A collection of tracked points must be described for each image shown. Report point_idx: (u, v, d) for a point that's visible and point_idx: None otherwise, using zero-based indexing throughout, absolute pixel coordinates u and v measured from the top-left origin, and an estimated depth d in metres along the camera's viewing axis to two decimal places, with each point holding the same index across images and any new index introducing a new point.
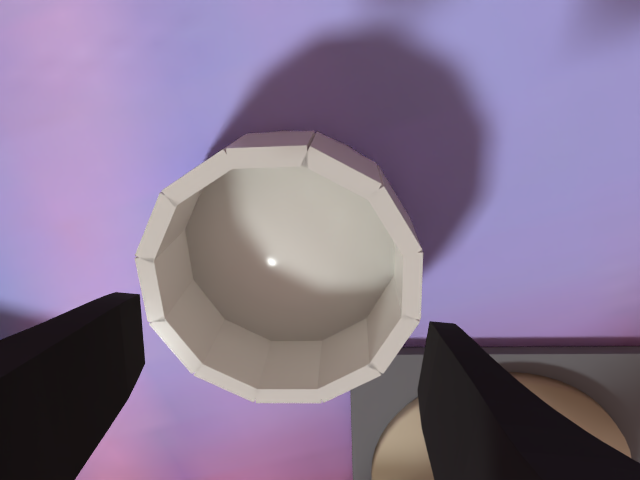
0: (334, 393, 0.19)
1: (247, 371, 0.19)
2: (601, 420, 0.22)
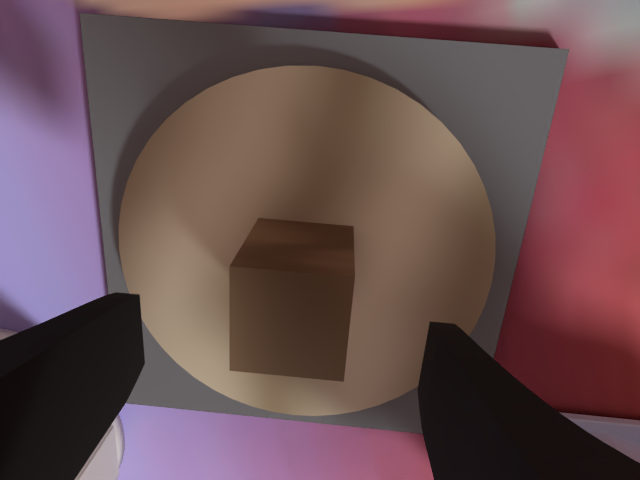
0: None
1: None
2: (176, 126, 0.15)
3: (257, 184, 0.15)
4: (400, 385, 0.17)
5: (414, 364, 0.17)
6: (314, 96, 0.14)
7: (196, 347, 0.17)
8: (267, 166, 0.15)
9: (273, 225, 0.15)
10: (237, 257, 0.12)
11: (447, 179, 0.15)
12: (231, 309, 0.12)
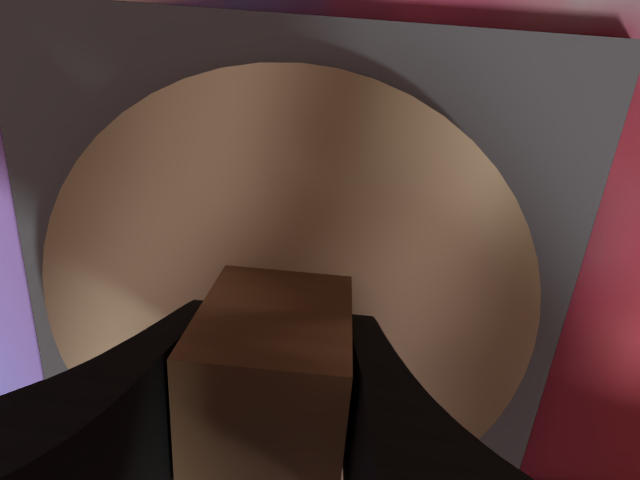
0: None
1: None
2: (111, 145, 0.11)
3: (223, 222, 0.11)
4: None
5: None
6: (297, 105, 0.10)
7: None
8: (235, 198, 0.11)
9: (243, 277, 0.11)
10: (182, 340, 0.08)
11: (478, 217, 0.11)
12: (172, 417, 0.08)
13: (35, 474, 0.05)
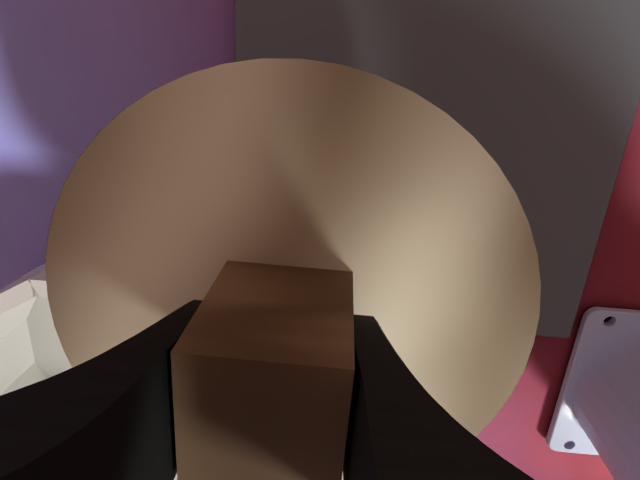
0: None
1: None
2: (114, 141, 0.11)
3: (225, 217, 0.11)
4: None
5: None
6: (299, 100, 0.10)
7: None
8: (237, 193, 0.11)
9: (245, 272, 0.11)
10: (185, 334, 0.09)
11: (479, 212, 0.11)
12: (176, 410, 0.08)
13: (35, 474, 0.05)
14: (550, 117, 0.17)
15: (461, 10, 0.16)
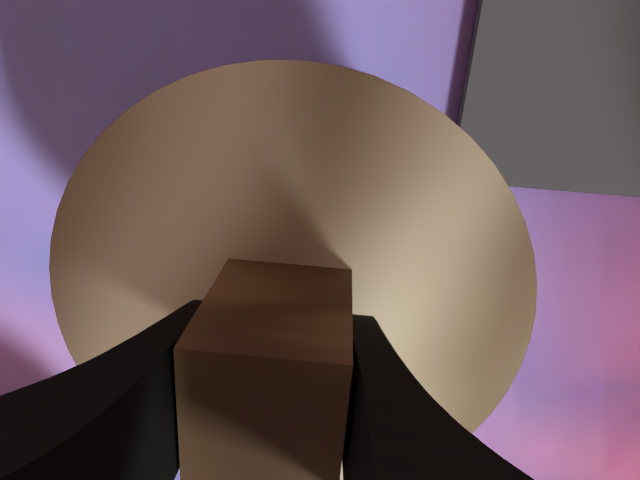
0: None
1: None
2: (117, 141, 0.11)
3: (226, 216, 0.11)
4: None
5: None
6: (299, 101, 0.10)
7: None
8: (238, 192, 0.11)
9: (246, 270, 0.11)
10: (188, 330, 0.09)
11: (476, 211, 0.11)
12: (178, 405, 0.09)
13: (35, 474, 0.05)
14: None
15: None
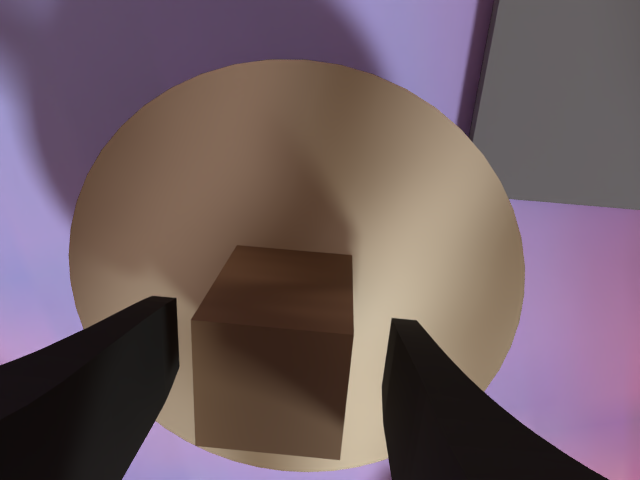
0: None
1: None
2: (134, 135, 0.12)
3: (235, 205, 0.12)
4: None
5: None
6: (303, 97, 0.11)
7: None
8: (246, 182, 0.12)
9: (254, 255, 0.12)
10: (203, 305, 0.10)
11: (467, 199, 0.12)
12: (195, 373, 0.09)
13: None
14: None
15: None
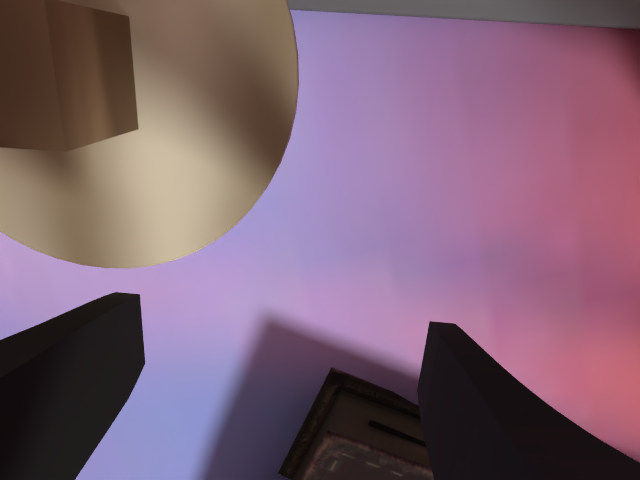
0: None
1: None
2: None
3: None
4: (216, 225, 0.15)
5: (227, 197, 0.15)
6: None
7: None
8: None
9: None
10: None
11: None
12: None
13: None
14: None
15: None
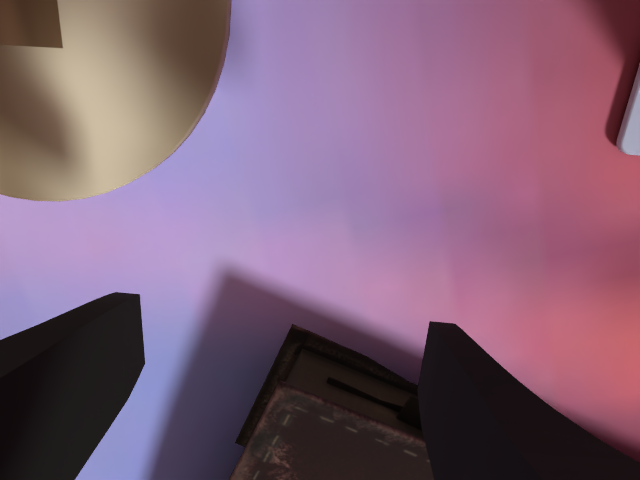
0: None
1: None
2: None
3: None
4: (147, 154, 0.15)
5: (157, 123, 0.14)
6: None
7: None
8: None
9: None
10: None
11: None
12: None
13: None
14: None
15: None
